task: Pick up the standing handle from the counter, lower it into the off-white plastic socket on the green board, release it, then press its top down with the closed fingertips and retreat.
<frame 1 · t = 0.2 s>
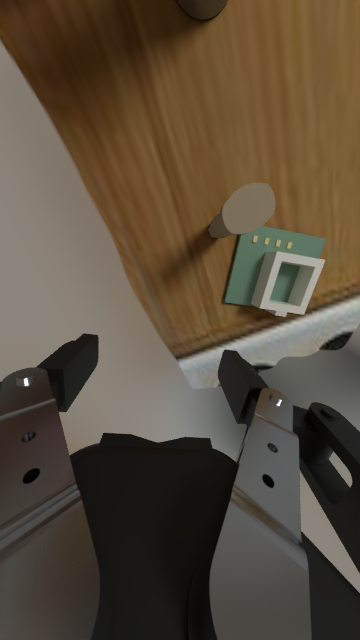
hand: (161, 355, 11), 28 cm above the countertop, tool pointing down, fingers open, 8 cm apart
handle: (215, 230, 35), on the countertop
board: (271, 271, 38), on the countertop
socket: (279, 282, 38), resting on board
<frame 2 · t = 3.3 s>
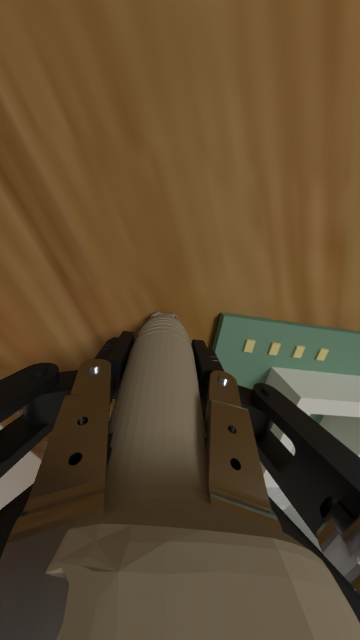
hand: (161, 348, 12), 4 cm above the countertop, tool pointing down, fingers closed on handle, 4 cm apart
handle: (163, 325, 16), on the countertop, touching gripper
board: (281, 390, 19), on the countertop
socket: (296, 412, 19), resting on board
when the fingers open (7 cm above the countertop, at t = 8.2 s): handle drops 1 cm, resting on board.
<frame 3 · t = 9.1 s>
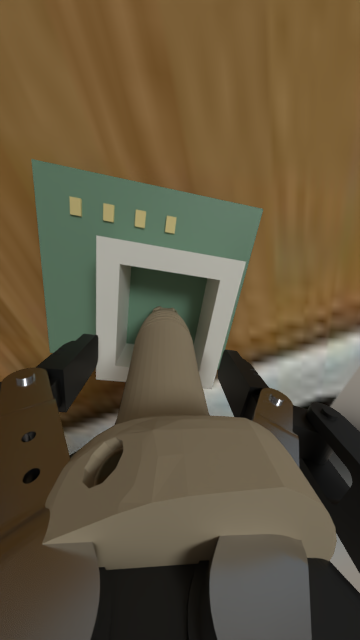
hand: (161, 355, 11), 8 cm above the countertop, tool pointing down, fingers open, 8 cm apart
handle: (164, 319, 17), point 1 cm above the countertop, touching board
board: (147, 286, 17), on the countertop
socket: (165, 310, 17), resting on board
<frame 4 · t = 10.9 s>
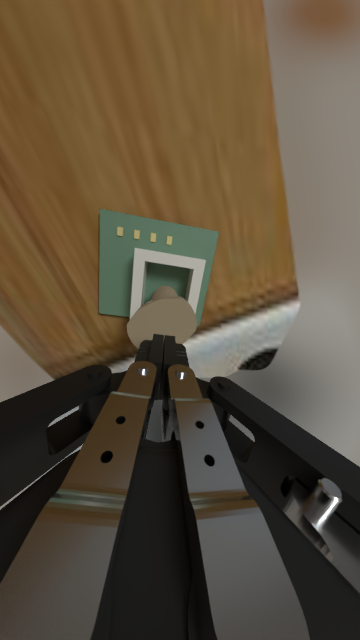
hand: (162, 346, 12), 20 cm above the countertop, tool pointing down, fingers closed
handle: (165, 293, 30), point 1 cm above the countertop, touching board
board: (156, 274, 30), on the countertop
socket: (166, 288, 30), resting on board
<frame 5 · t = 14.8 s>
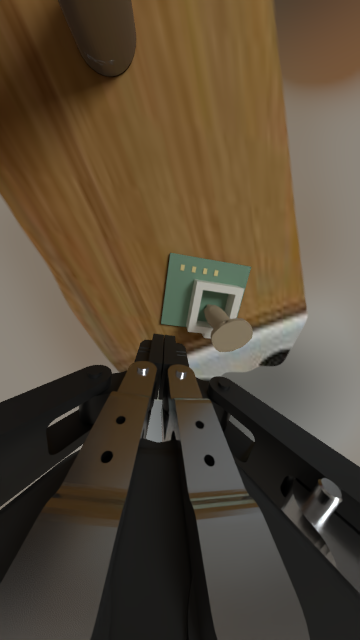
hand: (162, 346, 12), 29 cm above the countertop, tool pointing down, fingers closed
handle: (209, 309, 41), point 1 cm above the countertop, touching board
board: (203, 295, 41), on the countertop
socket: (210, 306, 41), resting on board
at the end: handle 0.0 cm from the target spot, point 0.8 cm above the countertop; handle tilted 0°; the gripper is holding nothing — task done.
